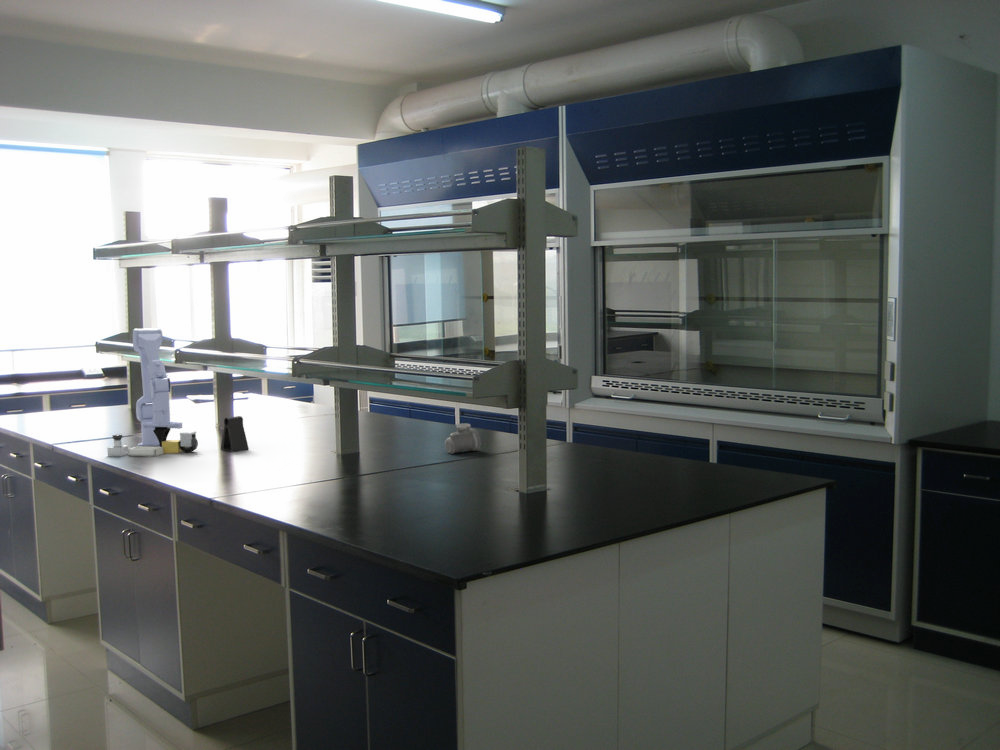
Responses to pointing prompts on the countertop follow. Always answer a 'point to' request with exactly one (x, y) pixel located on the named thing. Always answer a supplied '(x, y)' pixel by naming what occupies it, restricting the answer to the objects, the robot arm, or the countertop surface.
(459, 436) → the pipe fitting
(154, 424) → the robot arm
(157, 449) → the tray
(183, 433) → the castor
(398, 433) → the countertop surface
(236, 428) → the phone stand
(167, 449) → the block
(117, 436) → the stop pin
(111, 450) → the socket block
